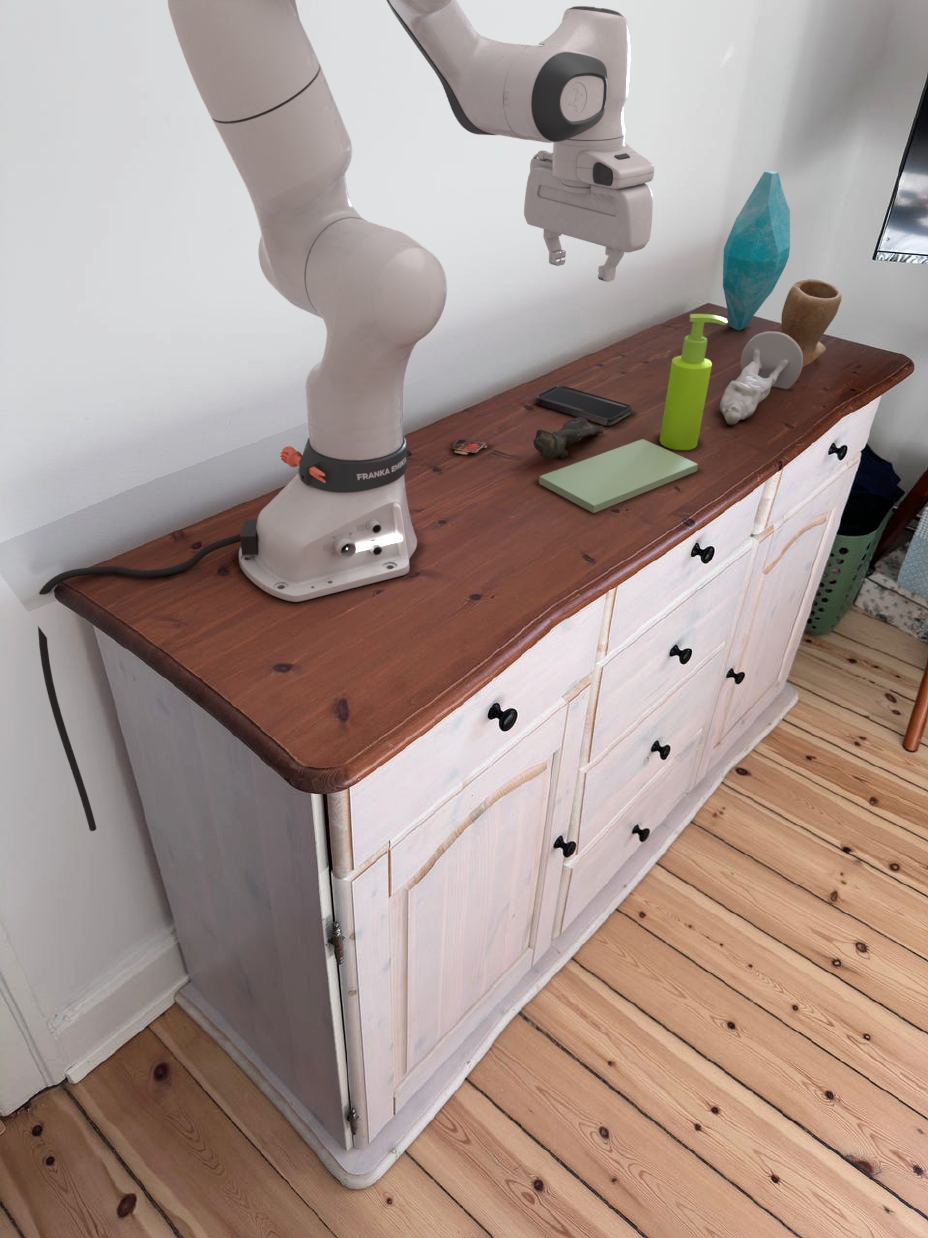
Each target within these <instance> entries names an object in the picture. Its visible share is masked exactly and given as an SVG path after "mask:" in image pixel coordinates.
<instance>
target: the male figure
mask: <svg viewBox="0 0 928 1238" xmlns="http://www.w3.org/2000/svg"><path fill="white" fill-rule="evenodd" d="M739 361H740V362H739V365H740V369H741V372H740V374H739V376H738V377H737V378H736V379H735V380H731V381H730V382H729V383H728V385H727V386H726V388H725V390H724V392H723V395H722V397H721V399H720V403H719V410H720V412H721V414H722V415H723V417H724V420H725V422H726V423H727V424H728V425H735V424H737V423H738V422H739V421H742V420H743V421H744V420H746V419H748V418H749V417H751V416H752V415H753V414H754V413H755V411H756V409H757V407H758V404H759V403H761V402H762V401H764V400H765V399H766V398H767V397H768V396H769V394H770V392H771V388H772V387H774V388H778V389H779V388H780V389H784V390H789V389H790V388H791V387H793V385H794V384H795V383H796V382H797V380H798V379H799V377H800V375H801V374H802V369H803V367H802V366H803V354H802V351H801V349H800V347H799V345H798V344H797V343H796V342H795V341H794V340H793V339H792V338H791V337H789V336H788V335H786V334H784V333H781V331H772V330H770V331H769V330H768V331H762V332H760V333H757V334H755V335H754V336H753V337H752V338H750V339H749V340H748V342H746V345H745V346H744V348H743V350H742V353H741V355H740V359H739Z"/></svg>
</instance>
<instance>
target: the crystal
mask: <svg viewBox="0 0 928 1238" xmlns="http://www.w3.org/2000/svg"><path fill="white" fill-rule="evenodd" d="M790 249H791V209H790V207H789V204H788V202H787V199H786V195H785V193H784V190H783V187H782V182H781V179H780V175H779V172H778V171H774V170H773V171H772V170H765V171H763V173H762V175H761V177H760V178H759V180H758V181H757V183H756V185H755V187H754V188H753V189H752V191H751V193H750V195H749V197H748V198H747V200H746V202H745V203H744V205H743V207H742V209H741V210H740V212H739V213H738V215H737V216H736V218H735V219H734V223H733V225H732V228H731V229H730V231H729V234H728V237H727V240H726V242H725V244H724V248H723V255H722V258H723V262H722V289H723V292H724V293H723V294H724V299H725V304H726V310H727V315H728V321H729V327H730V328H732V329H734V330H736V331H742V330H743V329H745V328H746V327H747V325H749V323H750V321H751V320H752V318H753V317H754V316H755V315H756V313H757V311H759V309H760V308H761V306H762V305H763V304H764V303H765V301H766V300H767V299H768V298H769V297H770V295H771V294H772V293H773V291H774V289H775V287H776V285H777V283H778V281H779V279H780V278H781V276H782V275H783V272H784V270H785V268H786V266H787V263H788V261H789V258H790V251H791V250H790Z"/></svg>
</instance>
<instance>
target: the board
mask: <svg viewBox="0 0 928 1238" xmlns="http://www.w3.org/2000/svg"><path fill="white" fill-rule="evenodd" d="M698 467H699V464H698V463H697V462H694V461H692V460H691V459H688V458H686V457H683V456H681V455H679V454H678V453H675V452H672V451H670V450H668V449H667V448H664V447H662V446H659V445H657V444H656V443H652V442H650V441H649V440H647V439H644V438H641V439H639V440H636V441H633V442H630V443H627V444H625V445H621V446H619V447H616V448H614V449H611V450H608V451H605V452H602V453H600V454H597V455H594V456H591V457H588V458H585V459H584V460H580V461H578V462H575V463H573V464H569V465H567V466H564V467H561V468H559V469H556V470H553V471H550V472H547V473H544V474H542V475H539V476H538V478H539V479H538V484H539V485H540V486H543V487H544V488H546V489H548V490H550V491H552V492H554V493H555V494H557V495H559V496H561V497H563V498H564V499H566V500H568V501H570V502H572V503H574V504H576V505H578V507H581V508H583V509H585V510H586V511H589V512H590V513H592V514H595V513H598V512H600V511H603V510H605V509H607V508H611V507H612V506H615V505H617V504H620V503H622V502H625V501H627V500H630V499H632V498H635V497H637V496H639V495H642V494H645V493H646V492H649V491H652V490H654V489H656V488H659V487H662V486H664V485H667V484H669V483H671V482H674V481H677V480H678V479H679V480H680V479H681V478H684V477H686V476H688V475H691V474H694V473H696V472H698Z"/></svg>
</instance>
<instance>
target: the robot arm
mask: <svg viewBox="0 0 928 1238" xmlns="http://www.w3.org/2000/svg"><path fill="white" fill-rule="evenodd" d="M385 1H386V2H387V5H388V6H389V9H390V10H391V11H392V13H393V15H394V16H395V17H396V19H397V21H398V22H399V23H400V25H401V26H402V28H403V29H404V31H405V32H406V34H407V35H408V37H409V38H410V39H411V40H412V42H413V43H414V45H415V46H416V48H417V49H418V51H419V52H420V53H421V54H422V56H423V57H424V59H425V60H426V62H427V63H428V64H429V66H430V67H431V69H432V70H433V71H434V73H435V74H436V76H437V78H438V79H439V82H440V84H441V85H442V88H443V90H444V93H445V95H446V98H447V101H448V103H449V106H450V109H451V111H452V113H453V116H454V117H455V119H456V121H457V122H458V124H459V125H460V126H461V127H462V128H463V129H464V130H465V131H467V132H469V133H471V134H474V135H479V136H480V135H481V136H502V137H509V138H513V139H520V140H524V141H533V142H541V143H548V144H552V152H549V151H547V150H539V151H538V152H537V153H536V154H534V156H533V157H532V158H531V159H530V165H529V173H528V177H527V180H526V186H525V187H526V188H525V195H524V205H523V217H524V220H525V222H526V224H527V225H529V226H531V227H536V228H538V229H543V235H542V238H543V239H544V243H545V245H546V248H547V250H548V264H550V265H553V266H556V267H560V266H563V265H565V263H566V255H567V254H566V253H567V251H566V250H564V249H563V248H562V244H561V240H560V237H561V236H562V235H563V236H567V237H570V238H574V239H578V240H581V241H585V242H588V243H592V244H594V245H598V246H602V247H605V256H608V257H607V258H606V260H605V263H604V264H603V265H599V266H598V271H597V272H598V274H597V278H598V280H599V281H603V282H605V283H609V282H613V281H614V280H615V278H616V271H617V267H618V265H619V264H620V262H621V260H622V259H623V257H624V255H625V253H632V252H637V251H640V250H642V249H644V248H645V247H646V245H648V243H649V242H650V239H651V234H652V224H653V208H654V207H653V206H654V204H653V203H654V202H653V201H654V199H653V193H652V189H651V188H650V186H649V185H648V184H647V183H650V182H652V181H653V179H654V176H655V166H654V164H653V162H651V161H650V160H648V159H647V158H645V157H644V156H643V155H641V154H640V153H638V152H637V151H636V150H635V149H634V148H633V147H631V146H630V145H629V144H628V143H626V142H625V139H626V138H625V136H626V127H625V122H624V110H625V105H626V102H627V100H628V99H627V98H628V96H629V87H630V86H629V84H630V73H631V71H630V70H631V39H630V30H629V24H628V21H627V18H626V17H625V16H624V15H623V14H622V13H621V12H619V11H616V10H614V9H609V8H604V7H601V8H600V7H595V6H587V5H575V6H572V7H570V8H567V9H565V11H564V13H563V15H562V20H561V23H560V24H559V25H558V26H557V28H556V29H555V30H554V31H553V33H551V34H550V35H549V36H548V37H547V38H545V39H544V40H542V41H541V42H538V45H535V44H534V45H531V44H530V45H529V44H520V43H508V42H502V41H498V40H495V39H491V38H488V37H485V36H484V35H481V34H480V33H478V32H477V30H476V29H475V28H474V26H473V25H472V23H471V22H470V19H469V18H468V17H467V15H466V14H465V12H464V10H463V9H462V7H461V6H460V4H459V2H458V1H457V0H385ZM167 8H168V12H169V15H170V20H171V22H172V25H173V28H174V32H175V35H176V37H177V41H178V43H179V47H180V48H181V52H182V55H183V57H184V60H185V63H186V65H187V68H188V70H189V73H190V75H191V78H192V80H193V82H194V84H195V87H196V89H197V91H198V94H199V96H200V97H201V100H202V102H203V104H204V106H205V108H206V111H207V113H208V114H209V116H210V118H211V121H212V122H213V124H214V126H215V127H216V130H217V132H218V133H219V136H220V138H221V139H222V142H223V144H224V146H225V148H226V150H227V152H228V153H229V155H230V158H231V159H232V161H233V163H234V165H235V167H236V169H237V171H238V173H239V176H240V178H241V180H242V182H243V183H244V185H245V188H246V190H247V192H248V195H249V197H250V199H251V202H252V205H253V208H254V209H253V210H254V212H255V215H256V218H257V222H258V226H259V230H260V238H259V242H258V261H259V265H260V269H261V271H262V274H263V276H264V278H265V279H266V281H267V282H268V283H269V284H270V285H271V287H273V288H274V289H275V290H276V291H277V293H279V294H280V295H281V296H282V297H283V298H284V299H285V300H286V301H288V302H289V303H290V304H291V305H293V306H295V307H297V308H298V309H300V310H302V311H305V312H307V313H309V314H312V315H314V316H316V317H318V318H320V319H322V321H323V322H324V325H325V329H326V330H325V331H326V338H325V346H324V351H323V355H322V359H321V360H320V361H319V362H317V363H316V364H315V365H314V366H313V367H312V368H311V369H310V370H309V372H308V374H307V377H306V379H305V386H304V387H305V397H306V411H307V425H308V438H307V440H306V443H305V446H304V449H303V452H302V453H301V452H300V451H298V450H296V449H295V448H294V447H293V446H290V445H288V446H284V447H283V448H282V450H281V451H280V456H279V457H280V460H281V461H282V462H283V463H285V464H287V465H288V466H289V467H290V468H296V467H298V470H297V474H296V475H295V476H294V477H293V478H292V479H291V480H290V481H289V482H288V483H287V484H286V485H285V487H283V488H282V489H281V490H280V491H279V492H278V494H276V496H274V497H273V499H271V500H270V501H269V502H268V503H267V504H266V505H265V506H264V507H263V508H262V509H261V510H260V512H259V513H258V517H257V519H255V518H254V519H253V518H251V519H244V520H243V524H242V527H241V531H240V533H238V534H235V535H232V536H229V537H225V538H222V539H219V540H216V541H214V542H212V543H210V544H208V545H205V546H204V547H202V548H201V549H200V550H198V551H197V552H196V553H195V554H194V555H192V557H191V558H190V559H188V560H186V561H184V562H182V563H179V564H177V565H173V566H169V567H165V568H164V567H163V568H157V569H156V568H155V569H134V568H128V567H124V566H117V565H106V566H105V565H104V566H92V567H82V568H75V569H70V570H66V571H63V572H61V573H59V574H57V575H55V576H53V577H52V578H51V579H49V580H48V581H47V582H46V583H45V584H44V585H43V586H42V588H41V589H40V590H39V593H38V594H39V595H47V594H49V593H50V592H51V591H52V590H53V589H54V588H56V586H58V585H59V584H60V583H62V582H64V581H67V580H69V579H73V578H77V577H84V576H94V575H95V576H96V575H105V574H108V575H109V574H115V575H116V574H117V575H121V576H126V577H131V578H133V577H134V578H139V579H140V578H141V579H143V578H158V577H159V578H160V577H166V576H172V575H176V574H179V573H182V572H184V571H187V570H189V569H191V568H193V567H194V566H195V565H197V564H198V563H199V562H200V561H202V559H203V558H205V556H207V555H208V554H210V553H212V552H214V551H216V550H219V549H221V548H224V547H227V546H230V545H234V544H237V543H239V542H240V548H239V551H238V565H239V567H240V569H241V571H242V572H243V573H244V575H245V576H246V577H247V578H248V579H249V580H250V581H251V582H252V583H253V584H254V585H255V586H257V587H258V588H260V589H261V590H262V591H263V592H266V593H267V594H269V595H271V596H273V597H275V598H278V599H281V600H284V601H288V602H293V603H298V602H304V601H308V600H312V599H316V598H321V597H323V596H327V595H330V594H335V593H339V592H343V591H347V590H352V589H354V588H359V587H364V586H367V585H370V584H375V583H379V582H383V581H387V580H391V579H394V578H398V577H402V576H405V575H407V574H408V573H409V572H410V569H411V567H410V559H411V557H412V556H413V554H414V553H415V551H416V550H417V546H418V538H417V535H416V533H415V529H414V527H413V523H412V519H411V515H410V510H409V504H408V503H409V502H408V497H407V491H406V479H405V478H406V477H405V475H406V471H408V470H407V469H408V449H407V439H406V437H405V436H404V384H405V377H406V372H407V371H406V370H407V367H408V363H409V361H410V358H411V355H412V352H413V350H414V348H415V346H416V345H417V343H419V341H421V340H423V339H424V338H425V337H426V336H428V335H429V334H430V333H431V332H432V331H433V329H434V328H435V327H436V325H437V324H438V323H439V321H440V318H441V317H442V315H443V312H444V310H445V306H446V301H447V294H448V282H447V277H446V272H445V269H444V267H443V265H442V263H441V261H440V260H439V259H438V258H437V256H436V255H435V254H433V253H432V252H431V251H430V250H429V249H427V248H426V247H425V246H423V245H422V244H421V243H420V242H417V241H416V240H415V239H414V238H412V237H410V236H409V235H407V234H406V233H404V232H402V231H399V230H396V229H393V228H390V227H387V226H383V225H380V224H377V223H373V222H371V221H368V220H366V219H365V218H363V217H362V215H360V214H359V212H358V211H357V209H356V208H355V207H354V205H353V203H352V201H351V199H350V196H349V191H348V185H347V180H346V179H347V178H346V173H347V171H348V170H349V167H350V164H351V162H352V158H353V144H352V140H351V137H350V134H349V131H348V130H347V127H346V125H345V123H344V120H343V117H342V116H341V112H340V110H339V108H338V105H337V103H336V100H335V99H334V96H333V95H334V94H333V93H332V90H331V88H330V86H329V83H328V81H327V78H326V76H325V74H324V71H323V69H322V67H321V66H322V65H321V63H320V60H319V59H318V56H317V54H316V52H315V49H314V47H313V44H312V42H311V40H310V38H309V36H308V34H307V32H306V30H305V28H304V25H303V24H302V21H301V20H300V19H301V18H300V15H299V11H298V7H297V2H296V0H167ZM37 634H38V635H37V636H38V647H39V655H40V662H41V668H42V673H43V674H42V675H43V678H44V679H43V680H44V684H45V688H46V693H47V696H48V701H49V704H50V708H51V711H52V715H53V718H54V721H55V724H56V728H57V732H58V734H59V738H60V740H61V743H62V746H63V749H64V752H65V756H66V758H67V761H68V764H69V767H70V770H71V773H72V776H73V779H74V782H75V786H76V788H77V792H78V795H79V798H80V801H81V804H82V808H83V810H84V815H85V819H86V822H87V825H88V829H89V831H90V832H95V831H96V830H97V825H96V821H95V817H94V814H93V810H92V807H91V803H90V800H89V796H88V793H87V789H86V786H85V783H84V781H83V777H82V774H81V770H80V768H79V765H78V762H77V759H76V756H75V753H74V750H73V747H72V744H71V741H70V738H69V735H68V732H67V728H66V724H65V721H64V718H63V714H62V712H61V707H60V704H59V702H58V697H57V693H56V688H55V684H54V679H53V673H52V668H51V663H50V661H51V660H50V654H49V647H48V637H47V636H46V635H45V633H44V632H43V630H42V629H41V627H39V625H37Z"/></svg>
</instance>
